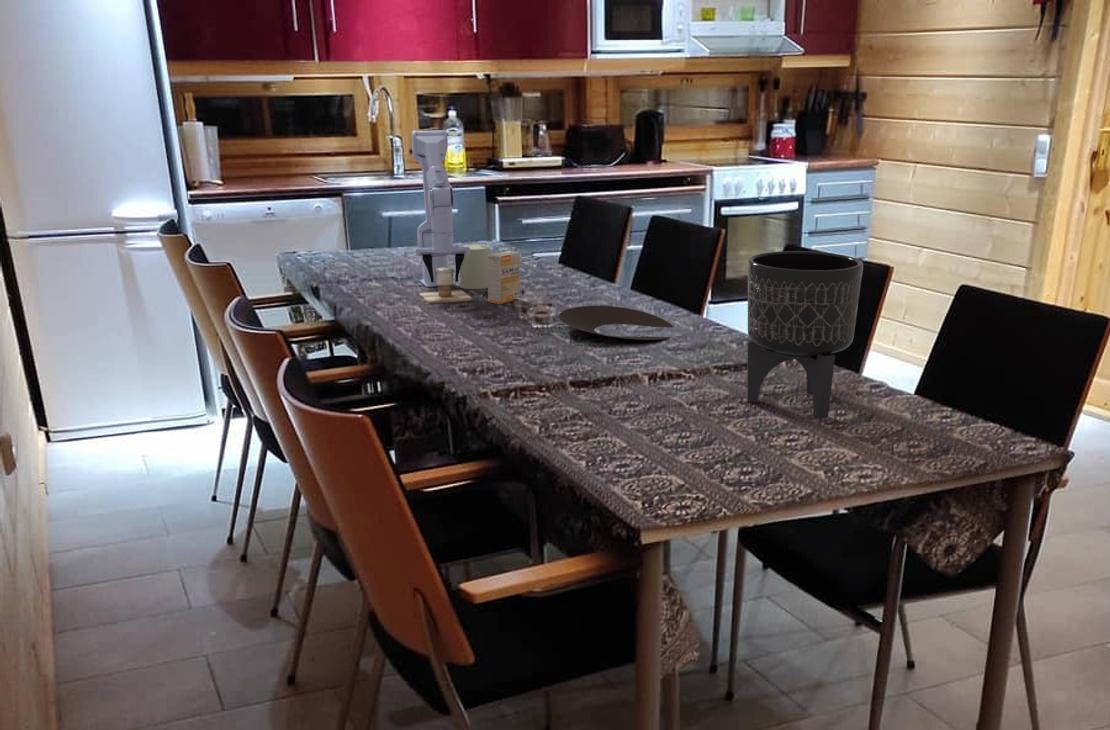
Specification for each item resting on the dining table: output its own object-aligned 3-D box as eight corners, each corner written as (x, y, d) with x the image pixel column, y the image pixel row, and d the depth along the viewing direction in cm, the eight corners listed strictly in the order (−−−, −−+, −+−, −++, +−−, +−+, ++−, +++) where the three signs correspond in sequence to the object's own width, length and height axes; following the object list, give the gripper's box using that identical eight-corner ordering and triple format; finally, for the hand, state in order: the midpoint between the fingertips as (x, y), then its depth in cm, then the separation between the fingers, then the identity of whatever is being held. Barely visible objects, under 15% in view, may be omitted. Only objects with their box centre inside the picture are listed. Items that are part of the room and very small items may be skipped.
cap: (434, 285, 257) (434, 271, 255) (436, 281, 261) (435, 267, 260) (453, 285, 257) (452, 270, 256) (454, 281, 262) (453, 267, 260)
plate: (671, 349, 209) (671, 333, 208) (547, 343, 215) (547, 327, 213) (680, 319, 235) (681, 304, 234) (570, 314, 241) (570, 300, 240)
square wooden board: (419, 295, 264) (418, 281, 263) (461, 291, 268) (460, 277, 266) (428, 304, 253) (427, 289, 252) (471, 300, 257) (471, 285, 256)
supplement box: (501, 305, 251) (500, 256, 248) (487, 302, 254) (486, 254, 250) (520, 299, 258) (519, 251, 254) (507, 297, 260) (506, 250, 257)
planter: (771, 380, 186) (779, 247, 178) (868, 400, 174) (881, 258, 166) (721, 406, 172) (727, 262, 164) (823, 429, 160) (835, 275, 152)
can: (490, 289, 270) (489, 247, 267) (458, 289, 271) (456, 247, 267) (492, 282, 279) (491, 242, 276) (461, 282, 280) (460, 242, 276)
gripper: (414, 234, 251) (417, 284, 255) (469, 233, 252) (470, 283, 256) (416, 230, 257) (418, 279, 261) (469, 229, 259) (471, 278, 262)
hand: (444, 281), depth 259 cm, fingers open, 6 cm apart
